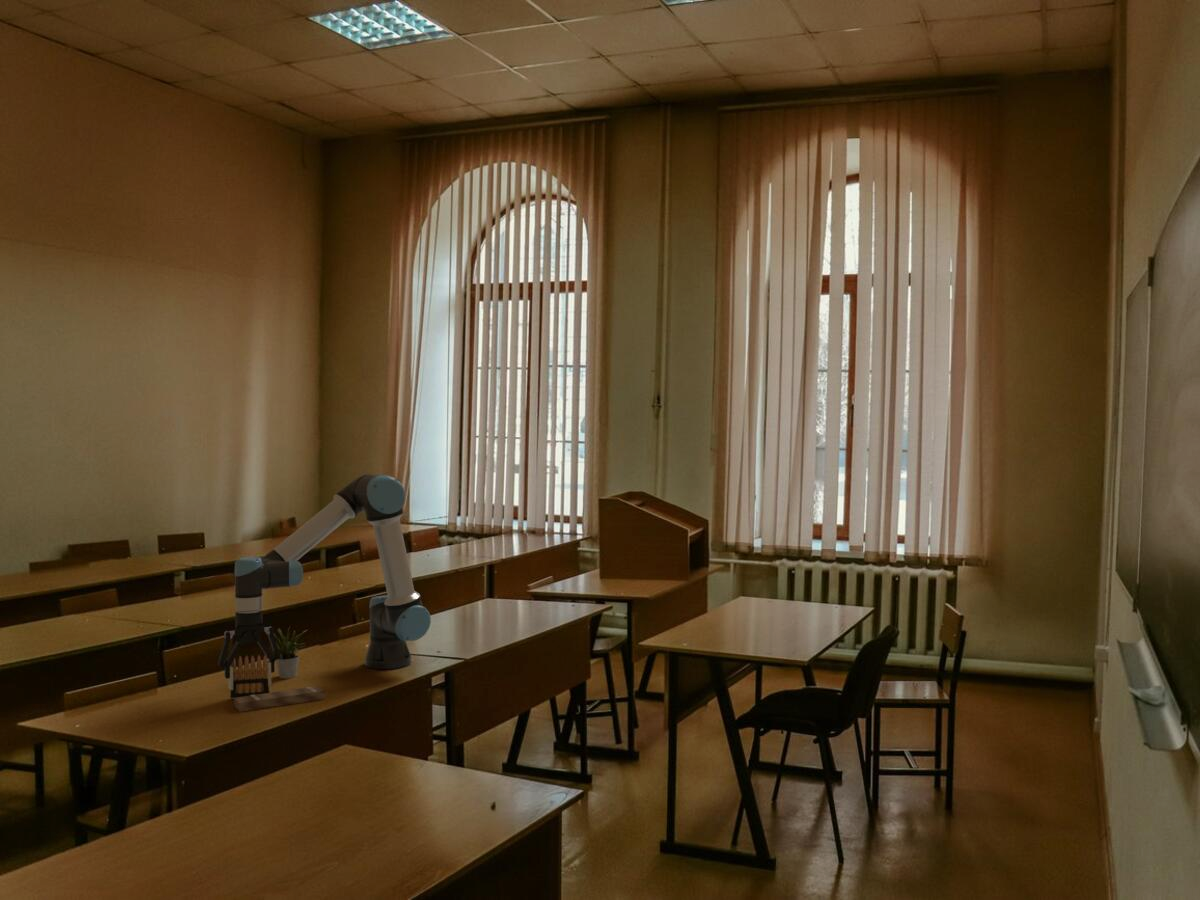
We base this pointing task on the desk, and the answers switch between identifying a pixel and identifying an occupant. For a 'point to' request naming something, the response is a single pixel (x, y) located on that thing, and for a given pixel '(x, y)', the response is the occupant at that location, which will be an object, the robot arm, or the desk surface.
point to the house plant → (288, 655)
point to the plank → (279, 698)
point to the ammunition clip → (250, 678)
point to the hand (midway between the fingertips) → (250, 686)
